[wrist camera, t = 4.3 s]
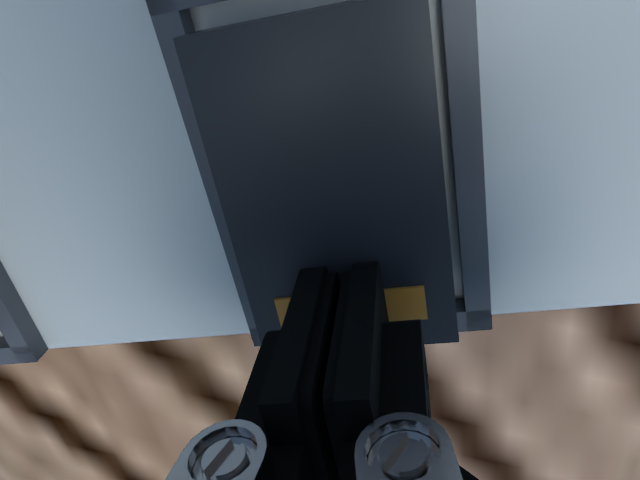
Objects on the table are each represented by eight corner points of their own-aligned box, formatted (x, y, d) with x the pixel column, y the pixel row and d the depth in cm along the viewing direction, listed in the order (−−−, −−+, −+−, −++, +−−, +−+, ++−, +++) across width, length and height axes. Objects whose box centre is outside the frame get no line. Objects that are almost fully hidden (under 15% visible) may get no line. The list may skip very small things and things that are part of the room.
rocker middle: (198, 30, 10) (170, 39, 9) (423, -15, 10) (427, -14, 8) (276, 319, 13) (263, 357, 12) (453, 305, 13) (459, 344, 11)
